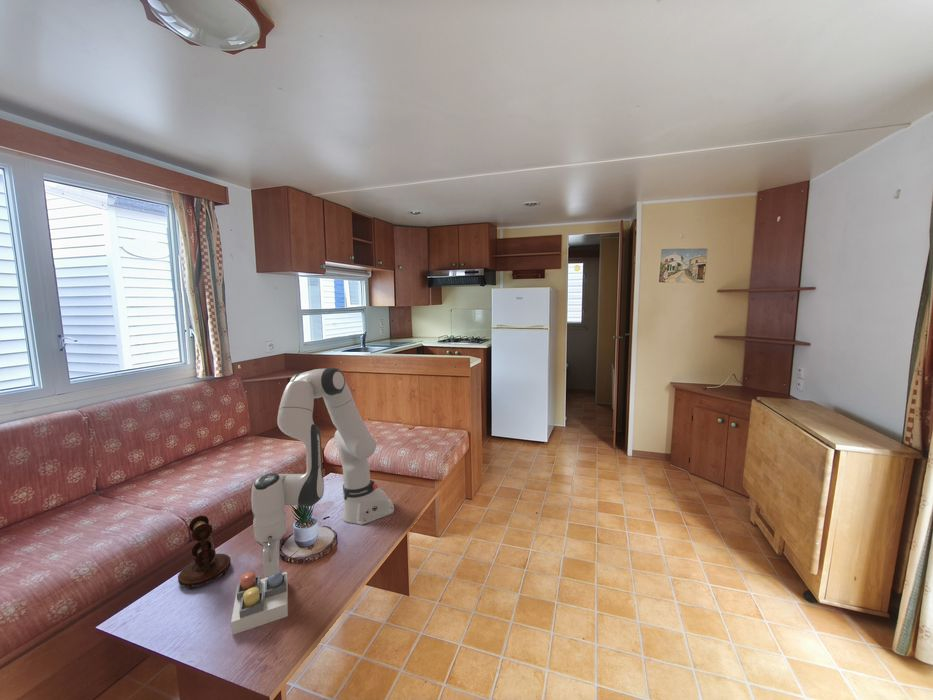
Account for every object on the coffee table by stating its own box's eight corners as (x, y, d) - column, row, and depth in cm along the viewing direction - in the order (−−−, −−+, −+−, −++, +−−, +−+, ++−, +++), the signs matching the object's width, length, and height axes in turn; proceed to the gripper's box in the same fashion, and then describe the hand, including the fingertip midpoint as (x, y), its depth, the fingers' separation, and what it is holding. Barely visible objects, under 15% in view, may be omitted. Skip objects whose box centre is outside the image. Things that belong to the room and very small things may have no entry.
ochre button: (260, 594, 110) (259, 585, 110) (259, 604, 107) (258, 594, 106) (244, 599, 108) (244, 590, 108) (243, 609, 105) (242, 599, 104)
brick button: (256, 578, 117) (255, 570, 116) (255, 587, 113) (254, 578, 113) (241, 583, 115) (241, 574, 115) (240, 591, 111) (239, 582, 111)
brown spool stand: (235, 574, 127) (229, 520, 125) (181, 598, 117) (174, 539, 114) (226, 554, 137) (221, 503, 135) (176, 574, 127) (169, 520, 125)
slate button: (282, 577, 117) (282, 568, 117) (282, 585, 114) (282, 576, 113) (268, 581, 115) (267, 572, 115) (268, 590, 112) (267, 580, 112)
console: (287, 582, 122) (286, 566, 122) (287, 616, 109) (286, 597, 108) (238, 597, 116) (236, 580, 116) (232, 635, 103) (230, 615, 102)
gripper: (281, 544, 104) (284, 589, 106) (282, 510, 123) (285, 548, 124) (255, 551, 102) (259, 597, 103) (260, 514, 120) (264, 554, 122)
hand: (273, 570), depth 114 cm, fingers closed
